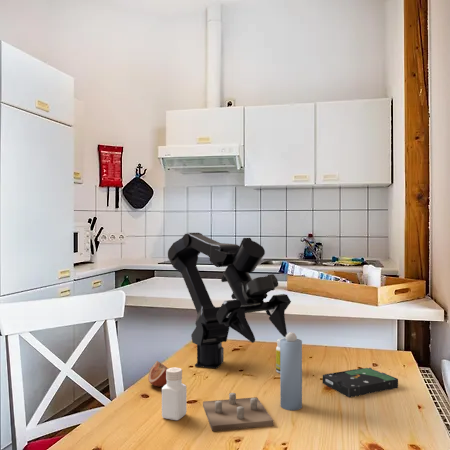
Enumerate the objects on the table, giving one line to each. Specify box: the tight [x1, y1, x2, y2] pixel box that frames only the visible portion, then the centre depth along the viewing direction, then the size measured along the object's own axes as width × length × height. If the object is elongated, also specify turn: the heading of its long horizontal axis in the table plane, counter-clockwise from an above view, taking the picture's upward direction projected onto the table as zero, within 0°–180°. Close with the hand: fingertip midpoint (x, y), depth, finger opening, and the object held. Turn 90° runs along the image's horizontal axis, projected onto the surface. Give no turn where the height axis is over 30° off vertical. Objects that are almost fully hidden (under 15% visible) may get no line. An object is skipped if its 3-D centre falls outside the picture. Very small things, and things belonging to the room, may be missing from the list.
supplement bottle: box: [275, 337, 285, 374], centre depth 121 cm, size 5×5×8 cm
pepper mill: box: [279, 331, 303, 411], centre depth 98 cm, size 5×5×16 cm
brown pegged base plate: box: [202, 392, 274, 432], centre depth 93 cm, size 12×12×3 cm
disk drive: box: [322, 367, 399, 398], centre depth 110 cm, size 10×3×15 cm
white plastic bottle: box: [161, 366, 187, 421], centre depth 93 cm, size 4×4×10 cm
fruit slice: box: [147, 360, 170, 388], centre depth 111 cm, size 8×7×5 cm
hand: (270, 338), depth 104 cm, fingers open, 9 cm apart
